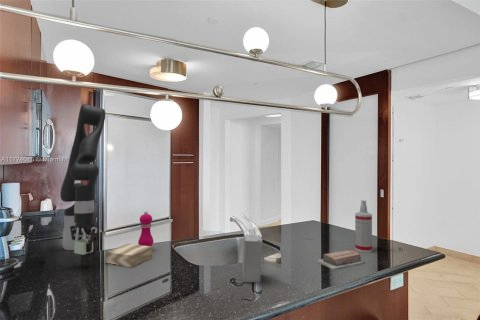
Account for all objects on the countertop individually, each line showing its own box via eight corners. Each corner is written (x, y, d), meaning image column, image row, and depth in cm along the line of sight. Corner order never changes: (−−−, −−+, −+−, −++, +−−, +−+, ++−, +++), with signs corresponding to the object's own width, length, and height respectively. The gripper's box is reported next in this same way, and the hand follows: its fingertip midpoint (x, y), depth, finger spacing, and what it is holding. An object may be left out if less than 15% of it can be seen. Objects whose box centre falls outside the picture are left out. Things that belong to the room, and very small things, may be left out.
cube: (74, 253, 125) (74, 241, 125) (84, 249, 130) (84, 238, 130) (83, 254, 123) (83, 242, 123) (93, 251, 128) (93, 239, 128)
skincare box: (241, 274, 118) (241, 234, 118) (259, 274, 119) (259, 234, 119) (243, 283, 110) (243, 240, 110) (262, 282, 110) (262, 239, 110)
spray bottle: (352, 249, 152) (352, 200, 152) (360, 246, 156) (360, 199, 156) (366, 253, 146) (366, 201, 146) (374, 250, 150) (374, 200, 150)
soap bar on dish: (347, 247, 140) (364, 253, 131) (347, 257, 140) (364, 264, 131) (317, 252, 132) (333, 259, 123) (317, 263, 132) (333, 271, 123)
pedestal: (105, 263, 131) (105, 252, 131) (127, 254, 144) (128, 243, 144) (132, 267, 126) (132, 255, 126) (152, 257, 139) (152, 246, 139)
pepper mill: (144, 254, 144) (144, 212, 144) (135, 251, 148) (135, 211, 148) (156, 250, 149) (156, 210, 149) (147, 248, 154) (147, 209, 154)
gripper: (64, 211, 125) (63, 251, 126) (89, 213, 120) (89, 256, 121) (79, 208, 132) (78, 246, 133) (104, 210, 127) (103, 250, 128)
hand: (83, 250), depth 127 cm, fingers closed on cube, 5 cm apart
